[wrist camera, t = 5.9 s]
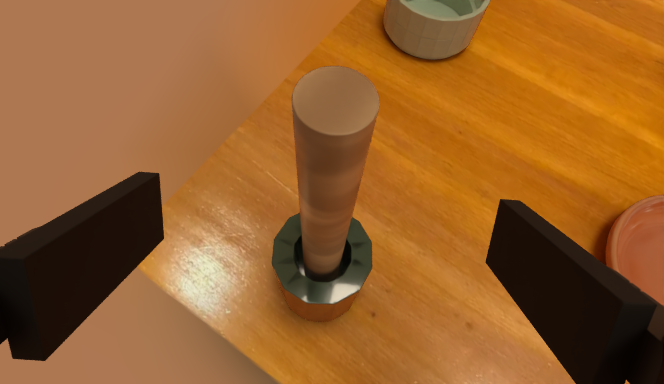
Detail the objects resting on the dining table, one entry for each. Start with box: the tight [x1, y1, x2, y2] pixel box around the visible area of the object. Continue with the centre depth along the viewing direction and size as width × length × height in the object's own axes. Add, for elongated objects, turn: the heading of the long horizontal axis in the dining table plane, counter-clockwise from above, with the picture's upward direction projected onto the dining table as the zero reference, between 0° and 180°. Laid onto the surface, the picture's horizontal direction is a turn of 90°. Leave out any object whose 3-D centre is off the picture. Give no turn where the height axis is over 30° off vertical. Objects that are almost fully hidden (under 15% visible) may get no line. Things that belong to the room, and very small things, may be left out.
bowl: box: [383, 0, 490, 59], centre depth 45 cm, size 11×11×6 cm
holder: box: [272, 213, 372, 322], centre depth 29 cm, size 7×7×9 cm
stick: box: [292, 66, 379, 282], centre depth 22 cm, size 3×3×24 cm
